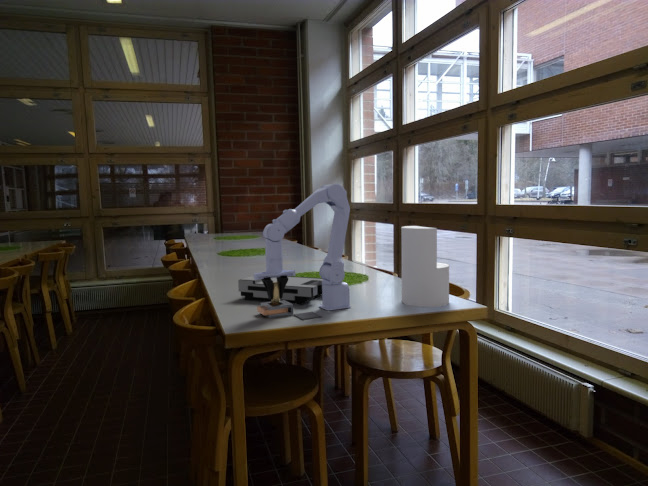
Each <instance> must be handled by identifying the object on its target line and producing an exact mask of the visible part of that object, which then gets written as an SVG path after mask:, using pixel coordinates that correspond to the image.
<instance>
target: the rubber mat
mask: <svg viewBox="0 0 648 486" xmlns="http://www.w3.org/2000/svg"><path fill="white" fill-rule="evenodd" d="M293 316H294V317H296V318H297V319H300V320H302V321H305V320H311V319H317V318H319V319H320V318H322V315H320V314H319V313H316V312H314V311H306V312H302V313H301V312H300V313H293Z"/></svg>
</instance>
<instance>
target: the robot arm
mask: <svg viewBox="0 0 648 486" xmlns="http://www.w3.org/2000/svg"><path fill="white" fill-rule="evenodd" d="M347 194H348V191H347V190H346V189H345V188H344V186H343V185H341V184H340V183H333V184H332V183H331V184H323V185H322V186H321V187H319V188H317V189H316V190H315V191H314V192H312V193H311V194H310V195H309V196H308V197H307V198H305V199H304V200H303V201H302V202H300V204H299V205H297V206H296V207H295V208H293V209H292V208H289V209H284V210H283V211H282V214H281V215H280V216H278V217H277V218H276V219H275V218H274V219H272V220H271V221H272V222H271V223H268V224H267V225H266V226H265V227H264V229H263V231H262V236H263V238H264V239H265V241H264V242H265V245H264V246H265V271H261V272H257V273H256V272H255V273H254V272H253V273H252V274H253V275H252V276H253V278H254V280H258V279H261V280H262V282H263V284H264V286H265V288H266V291H267V294H268V298H269V299H270V300H272V299H273V294H272V286H273V281H272V280H271V278H276V277H277V282H279V284H280V299H281V298H282V297H283V292H284V289H285V286H286V284H287V282H288V277H287V276H294V277H296V270H294V269H286V270H285V269H284V264H283V263H284V260H283V257H284V256H283V239H284V237H285V234H287V233H288V232H290V230H292V229H293V228H294V227H296V226H297V224H299V223H300V222H301V217H302V216H303V215H304V214H306V213H307V212H309V211H310V210H311V209H313V208H314V207H316V206H317V205H318V204H321V203H325V204H327V205H328V206H329V207H330V208H331V209H332V211H333V212H334V213H333V219H332V225H331V230H330V237H329V242H328V248H327V253H326V256H325V257H324V259H323V262H322V265H320V267H319V273H318V274H319V277H320V278H322V279H323V280H322V295H321V296H322V297H321V298H322V300H321V301H322V304H318V305H317V307H319V308H321V309H324V310H326V311H336V310H341V309H343V310H344V309H349V308H351V307H352V306H351V304H350V303H351V302H350V286H349V284H348V283H347V282H345V281H344V279H345V275H346V274H345V268H344V267H345V262H344V260H343V254H344V248H345V247H344V246H345V242H346V236H347V235H346V234H347V230H348V224H349V219H350V218H349V217H350V213H351V206H350V202H349V201H348V196H347Z"/></svg>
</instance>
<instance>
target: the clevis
mask: <svg viewBox="0 0 648 486" xmlns="http://www.w3.org/2000/svg"><path fill="white" fill-rule="evenodd" d="M256 312H258V313H259V314H262V315H263V316H265V317H266V318H268V319H272V318H280V317H288V316H292V315H293V316H294V304H292V303H289V302H287V301H285V300H280V305H274V306H271V302H264V301H263V302H260V306H256Z"/></svg>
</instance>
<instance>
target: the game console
mask: <svg viewBox="0 0 648 486" xmlns="http://www.w3.org/2000/svg"><path fill="white" fill-rule="evenodd" d="M287 277H288V282H287V284H286V286H285V289H284V292H283V297H282V298H281V299H280V300H285V301H287V302H289V303H292V304H293V305H299V306H300V305H302V304H304V303H308V302H309V301H310V300H312V299H314V298H315V299H316V298H318V297H320V296H322V280H323V279H322V278H321V277H312V276H311V277H309V276H308V277H307V276H287ZM271 280H272V281H273V282H277V277H276V278H271ZM237 283H238V285H237V286H238V287H237V288H238V292H240V296H242V297H244V300H245V301H255V302H263V303H264V302H271V300H270V299H269V298H268V294H267V291H266V288H265V286H264V284H263V282H262V280H261V279H258V280H254V278H253V275H251V276H247V277H244V278H241V279H238V280H237Z"/></svg>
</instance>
